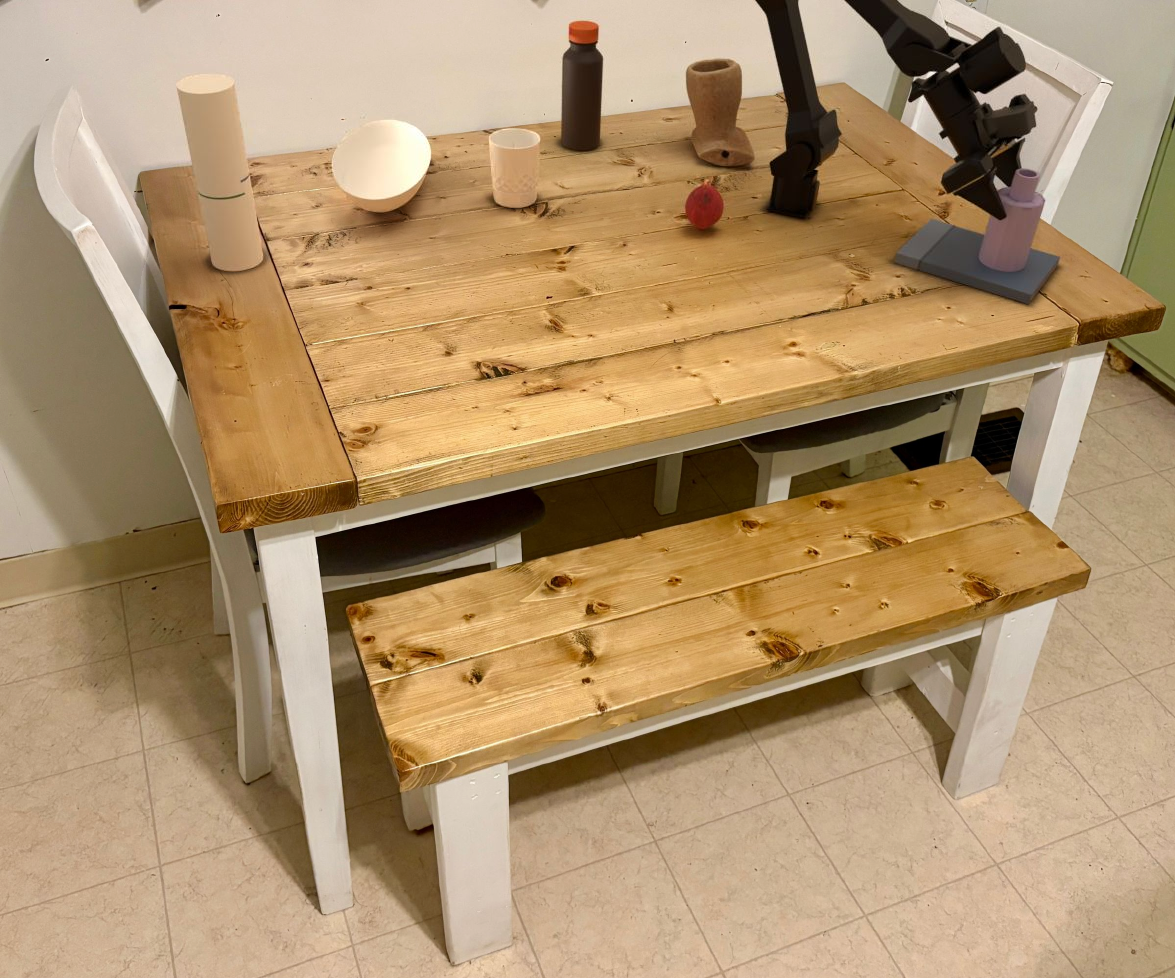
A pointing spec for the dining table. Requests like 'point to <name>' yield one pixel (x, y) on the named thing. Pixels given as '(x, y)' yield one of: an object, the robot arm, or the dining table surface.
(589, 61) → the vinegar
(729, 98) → the clay boot vessel
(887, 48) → the robot arm
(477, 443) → the dining table surface
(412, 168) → the bowl
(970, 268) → the grey stepped slab
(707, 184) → the onion
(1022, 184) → the vase
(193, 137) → the cylindrical container
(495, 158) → the white cup
